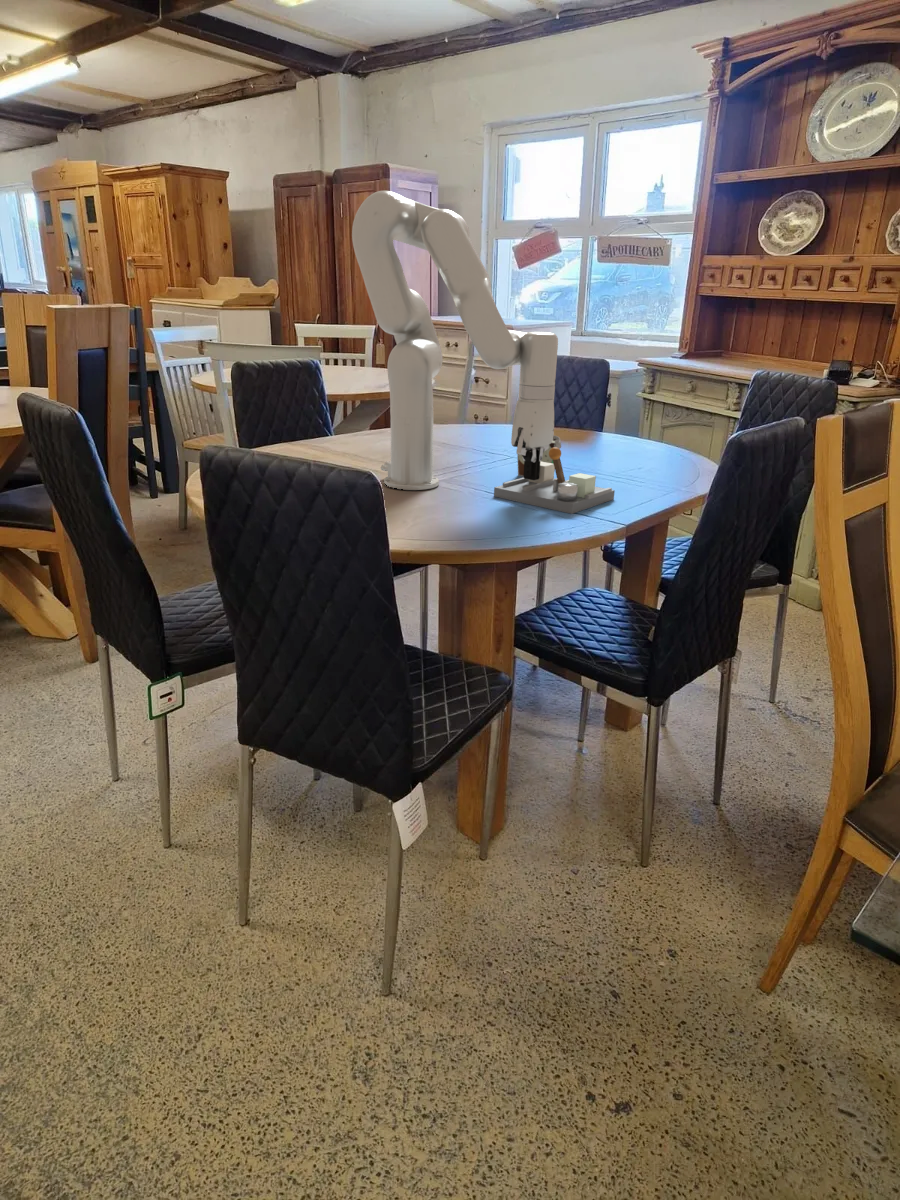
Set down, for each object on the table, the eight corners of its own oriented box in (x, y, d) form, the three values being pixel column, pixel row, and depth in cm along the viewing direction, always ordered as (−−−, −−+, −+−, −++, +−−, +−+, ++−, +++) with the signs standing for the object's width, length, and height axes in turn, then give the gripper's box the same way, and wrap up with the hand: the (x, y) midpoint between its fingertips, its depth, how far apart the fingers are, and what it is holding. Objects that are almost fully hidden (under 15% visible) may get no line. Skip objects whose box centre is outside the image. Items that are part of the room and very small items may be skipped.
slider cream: (528, 481, 171) (529, 463, 170) (538, 478, 174) (540, 461, 173) (543, 484, 169) (544, 466, 168) (553, 481, 172) (554, 463, 170)
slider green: (567, 494, 161) (569, 475, 159) (577, 491, 164) (579, 473, 162) (584, 497, 158) (585, 478, 157) (594, 494, 161) (595, 476, 160)
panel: (493, 496, 166) (494, 476, 165) (538, 484, 178) (539, 465, 177) (572, 513, 154) (574, 492, 152) (614, 499, 166) (616, 479, 165)
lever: (554, 490, 164) (545, 451, 158) (561, 482, 166) (551, 443, 159) (565, 492, 163) (555, 452, 156) (571, 484, 164) (562, 445, 157)
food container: (568, 479, 184) (572, 437, 180) (553, 483, 180) (557, 440, 176) (528, 471, 192) (530, 430, 188) (513, 474, 187) (515, 433, 184)
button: (553, 499, 157) (554, 484, 156) (564, 495, 160) (565, 481, 159) (570, 502, 154) (571, 488, 153) (580, 499, 157) (581, 484, 156)
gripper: (541, 389, 169) (536, 471, 176) (501, 394, 158) (497, 481, 165) (570, 392, 164) (563, 476, 171) (530, 398, 154) (525, 487, 161)
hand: (531, 478), depth 168 cm, fingers closed
